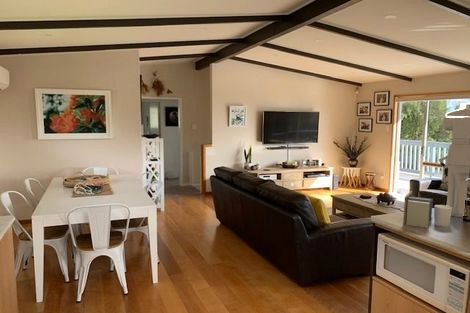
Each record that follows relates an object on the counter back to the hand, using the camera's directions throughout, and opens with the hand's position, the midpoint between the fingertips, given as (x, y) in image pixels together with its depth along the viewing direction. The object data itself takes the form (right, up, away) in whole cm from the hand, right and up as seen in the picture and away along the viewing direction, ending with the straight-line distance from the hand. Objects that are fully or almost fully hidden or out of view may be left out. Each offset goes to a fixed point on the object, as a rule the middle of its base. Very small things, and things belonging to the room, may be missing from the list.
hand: (458, 177), depth 168 cm
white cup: (+2, -27, +16) cm, 31 cm away
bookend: (-2, -25, +29) cm, 38 cm away
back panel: (-13, -25, +25) cm, 38 cm away
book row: (-11, -26, +16) cm, 33 cm away
